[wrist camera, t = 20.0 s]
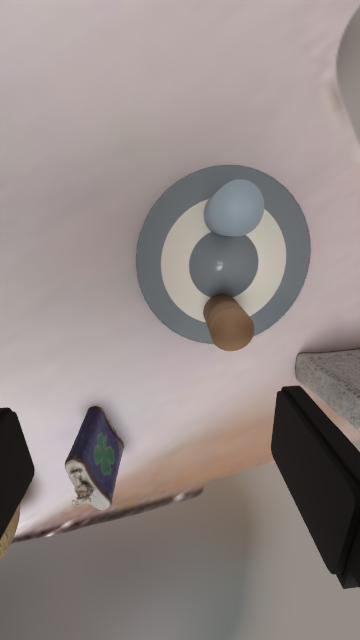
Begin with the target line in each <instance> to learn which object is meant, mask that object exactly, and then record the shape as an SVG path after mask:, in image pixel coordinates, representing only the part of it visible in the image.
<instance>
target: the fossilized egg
mask: <svg viewBox="0 0 360 640" xmlns="http://www.w3.org/2000/svg"><path fill="white" fill-rule="evenodd" d="M19 516H20V504H19V506H18V508H17V509H16V511H15V513H14V515H13V517H12V519H11V521H10V523H9V525H8V527H7V528H6V530H5V532H4V534H3V536H2V538H1V540H0V560H1V559H2V557H3V555H4V554H5V553H6V551H7V549H8V547H9V545H10V544H11V542H12V540H13V538H14V535H15V532H16V529H17V526H18V522H19Z"/></svg>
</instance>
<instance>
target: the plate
mask: <svg viewBox="0 0 360 640" xmlns="http://www.w3.org/2000/svg"><path fill="white" fill-rule="evenodd" d="M237 179H243V180H248V181H250V182H252V183H254V184H255V185H256V186H257V187H258V188H259V190H260V191H261V193H262V195H263V198H264V213H263V216H262V219H261V221H260V223H259V224H258V226H257V227H256V228H255V229H254V230H253V231H251V232H250V233H248V234H246V235H243V236H220V235H216V234H214V233H213V232H211V231H210V230H209V229H208V227H207V226H206V224H205V221H204V208H205V205H206V203H207V201H208V200H209V199H210V198H211V197H212V196H213V195H214V194H215V193H216V192H217V191H218V190H219V189H220V188H221V187H223V186H224V185H225V184H227V183H228V182H230V181H233V180H237ZM310 252H311V248H310V236H309V230H308V226H307V223H306V219H305V216H304V214H303V212H302V210H301V208H300V206H299V204H298V203H297V201H296V200H295V198H294V197H293V195H292V194H291V193H290V192H289V191H288V190H287V189H286V188H285V187H284V186H283V185H282V184H281V183H279V182H278V181H277V180H276V179H274V178H272V177H271V176H269V175H267V174H265V173H263V172H261V171H258V170H255V169H253V168H249V167H244V166H237V165H222V166H213V167H209V168H205V169H201V170H199V171H197V172H194V173H192V174H189V175H188V176H186V177H184V178H183V179H181V180H179V181H178V182H176V183H175V184H174V185H173V186H171V187H170V188H169V189H168V190H167V191H166V192H165V193H164V194H163V195H162V196H161V197H160V198H159V199H158V200H157V202H156V203H155V205H154V206H153V207H152V209H151V210H150V212H149V214H148V216H147V218H146V220H145V222H144V224H143V227H142V230H141V232H140V236H139V240H138V244H137V253H136V269H137V275H138V281H139V284H140V288H141V291H142V293H143V296H144V298H145V300H146V302H147V304H148V305H149V307H150V309H151V310H152V311H153V313H154V314H155V315H156V316H157V318H158V319H159V320H160V321H161V322H162V323H163V324H165V325H166V326H167V327H168V328H170V329H171V330H172V331H174V332H176V333H177V334H179V335H181V336H183V337H185V338H188V339H190V340H194V341H197V342H201V343H208V344H214V342H213V341H212V338H211V335H210V333H209V330H208V327H207V324H206V321H205V319H204V315H203V310H204V306H205V304H206V303H207V301H208V300H209V299H211V298H212V297H214V296H216V295H221V294H224V295H229V296H231V297H232V298H234V299H235V300H236V301H237V303H238V304H239V305H240V306H241V307H242V308H243V310H244V311H245V312H246V313H247V314H248V315H249V317H250V318H251V319H252V321H253V323H254V335H253V336H255V335H257V334H259V333H261V332H263V331H265V330H266V329H268V328H269V327H271V326H272V325H273V324H274V323H276V322H277V321H278V320H279V319H280V318H281V317H282V316H283V315H284V314H285V313H286V312H287V311H288V309H289V308H290V307H291V306H292V304H293V303H294V301H295V300H296V298H297V297H298V295H299V293H300V291H301V289H302V287H303V285H304V282H305V279H306V276H307V272H308V268H309V263H310Z"/></svg>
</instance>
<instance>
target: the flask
mask: <svg viewBox="0 0 360 640" xmlns="http://www.w3.org/2000/svg"><path fill="white" fill-rule="evenodd" d="M109 422H110V421H108V420H107V419H106V415H105V414H104V412H103V409H101V408H99V407H97V406H94V407H91V408H89V409H88V411H87V414H86V416H85V419H84V421H83V423H82V425H81V428H80V430H79V433H78V435H77V437H76V439H75V442H74V444H73V446H72V449H71V451H70V453H69V455H68V457H67V460H66V461H65V469H66V471H67V473H68V475H69V478H70V480H71V481H72V483H73V485H74V486H75V492H76V493H77V495H78V497H77V502H78V503H79V504H80V505H82V504H85V503H88V504H91V505H93V506H94V507H95V508H96V509H100V510H104V509H107V508H109V507H110V506H111V504H112V497H113V492H114V488H115V482H116V478H117V474H118V469H119V465H120V461H121V457H122V452H123V448H124V447H123V443H122V440H121V439H119V438H118V436H117V434H116V431H115V429H114V427H112V426H111V425H110V424H109ZM72 504H73V505H76V506H77V507H78V506H79V505H78V504H76V501H75V500H73V501H72Z"/></svg>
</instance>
